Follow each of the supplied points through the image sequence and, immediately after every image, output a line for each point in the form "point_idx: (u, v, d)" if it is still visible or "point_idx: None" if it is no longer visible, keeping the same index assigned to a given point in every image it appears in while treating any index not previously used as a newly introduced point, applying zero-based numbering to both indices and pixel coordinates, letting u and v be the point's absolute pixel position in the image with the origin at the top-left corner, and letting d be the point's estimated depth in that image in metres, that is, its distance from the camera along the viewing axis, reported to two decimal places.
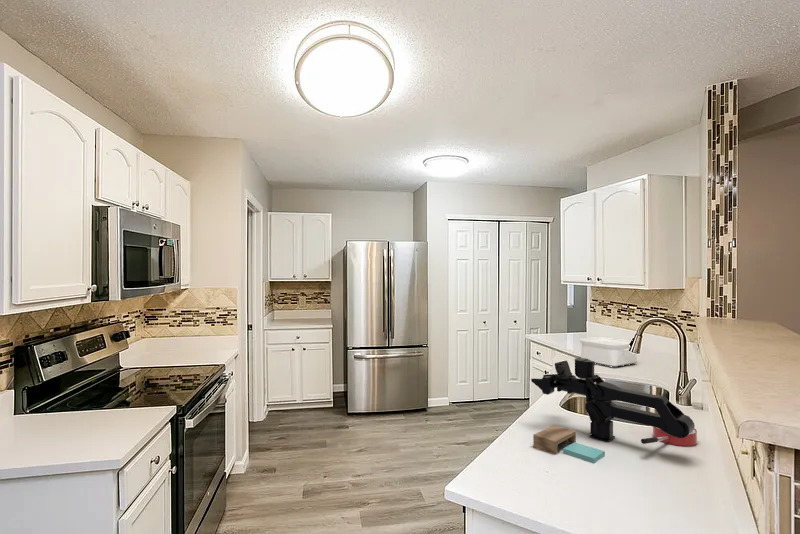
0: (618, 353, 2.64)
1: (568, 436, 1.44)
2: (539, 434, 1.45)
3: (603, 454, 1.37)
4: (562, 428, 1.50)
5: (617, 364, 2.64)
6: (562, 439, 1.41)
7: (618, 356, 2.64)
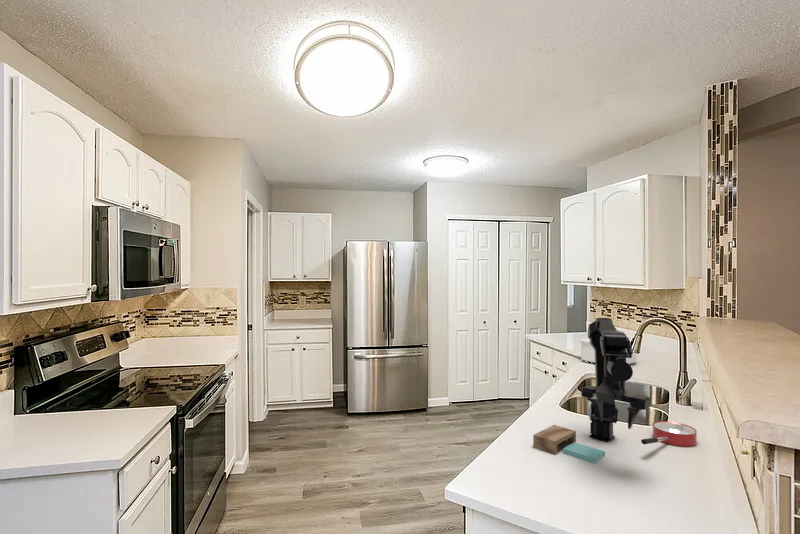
0: None
1: (568, 436, 1.44)
2: (539, 434, 1.45)
3: (603, 454, 1.37)
4: (562, 428, 1.50)
5: None
6: (562, 439, 1.41)
7: None
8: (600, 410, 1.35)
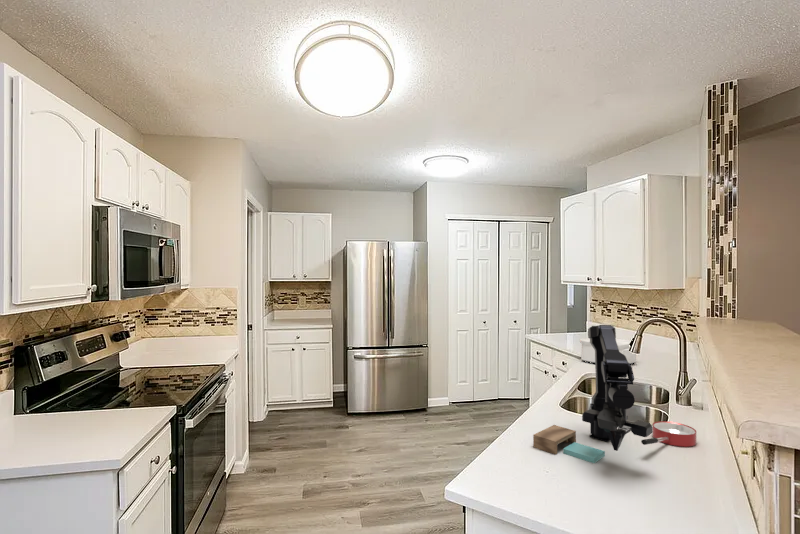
0: None
1: (568, 436, 1.44)
2: (539, 434, 1.45)
3: (603, 454, 1.37)
4: (562, 428, 1.50)
5: None
6: (562, 439, 1.41)
7: None
8: (614, 438, 1.31)
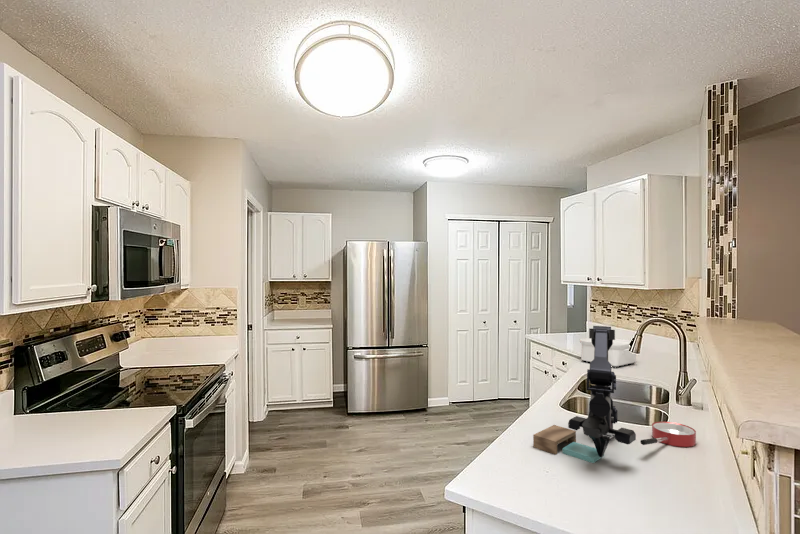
0: (619, 353, 2.64)
1: (568, 436, 1.44)
2: (539, 434, 1.45)
3: None
4: (562, 428, 1.50)
5: (618, 364, 2.64)
6: (562, 439, 1.41)
7: (619, 356, 2.64)
8: (599, 445, 1.35)
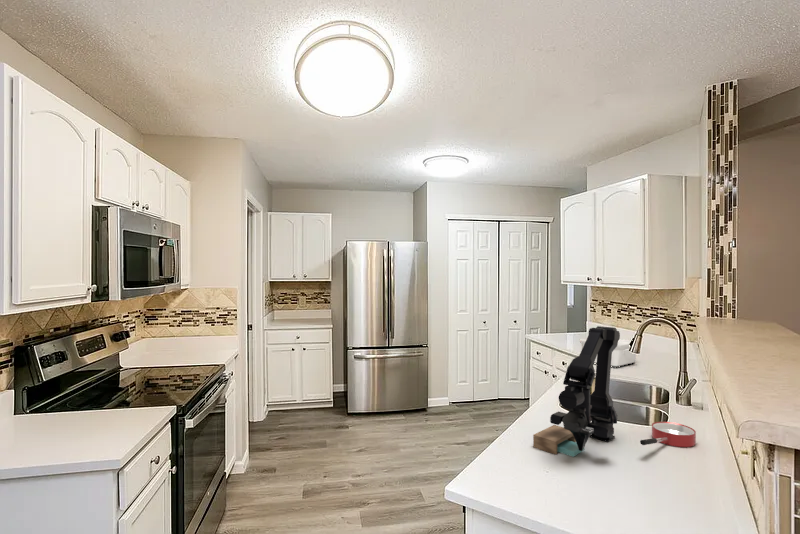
0: (619, 353, 2.64)
1: (568, 436, 1.44)
2: (539, 434, 1.45)
3: None
4: (562, 428, 1.50)
5: (619, 364, 2.64)
6: (562, 439, 1.41)
7: (619, 356, 2.64)
8: None
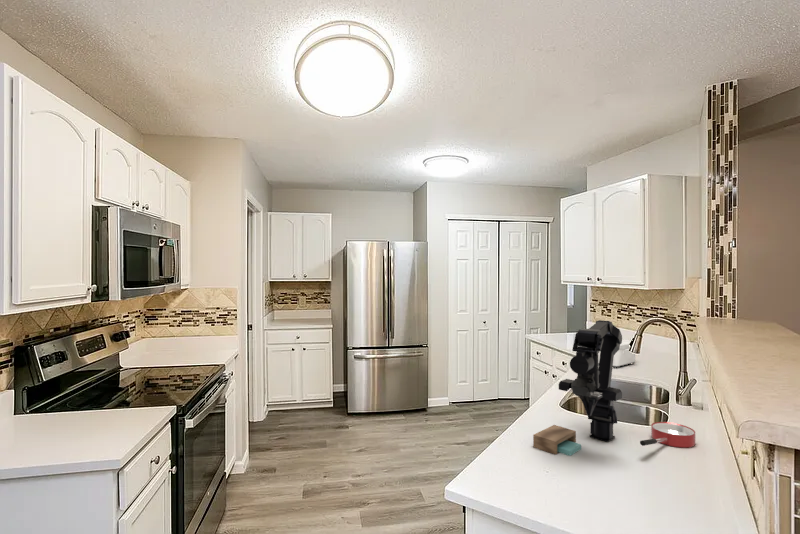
0: (620, 353, 2.64)
1: (568, 436, 1.44)
2: (539, 434, 1.45)
3: (579, 447, 1.42)
4: (562, 428, 1.50)
5: (619, 364, 2.64)
6: (562, 439, 1.41)
7: (620, 356, 2.64)
8: (588, 405, 1.41)
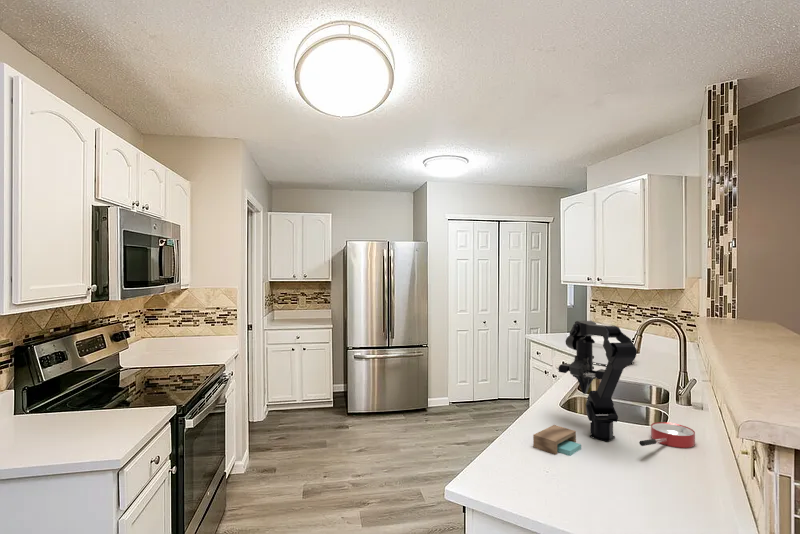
0: None
1: (568, 436, 1.44)
2: (539, 434, 1.45)
3: (579, 447, 1.42)
4: (562, 428, 1.50)
5: None
6: (562, 439, 1.41)
7: None
8: (583, 384, 1.66)
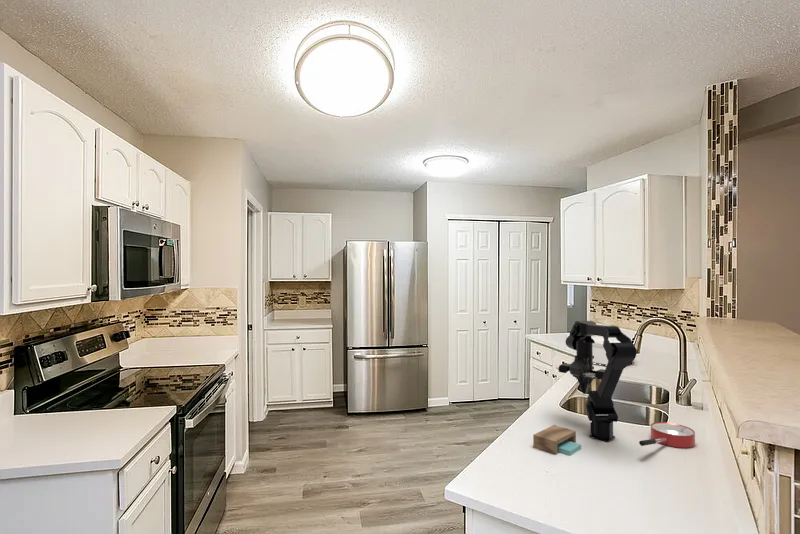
0: None
1: (568, 436, 1.44)
2: (539, 434, 1.45)
3: (579, 447, 1.42)
4: (562, 428, 1.50)
5: None
6: (562, 439, 1.41)
7: None
8: (583, 384, 1.66)
